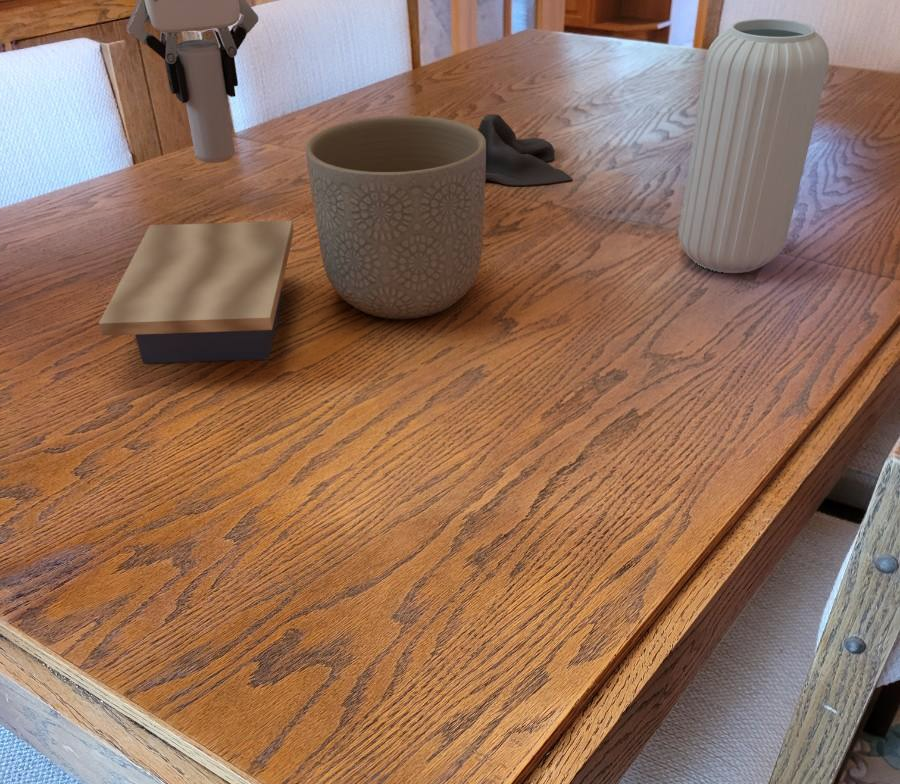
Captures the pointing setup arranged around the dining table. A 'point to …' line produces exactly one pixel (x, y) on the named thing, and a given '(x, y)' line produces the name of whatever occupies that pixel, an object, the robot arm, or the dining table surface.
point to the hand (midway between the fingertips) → (205, 95)
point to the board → (202, 279)
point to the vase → (751, 142)
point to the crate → (207, 345)
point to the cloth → (517, 156)
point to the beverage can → (206, 100)
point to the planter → (399, 211)
